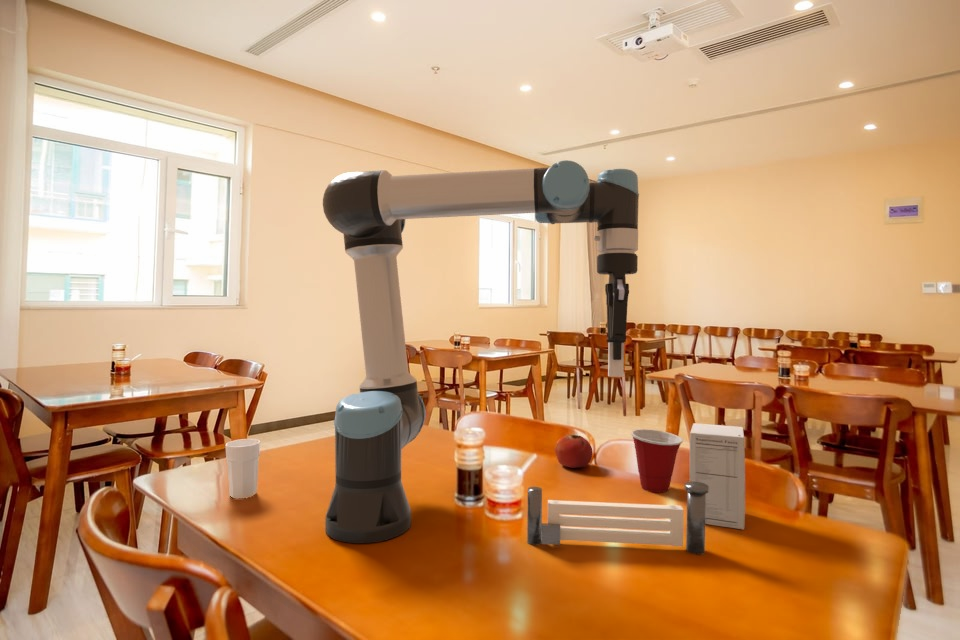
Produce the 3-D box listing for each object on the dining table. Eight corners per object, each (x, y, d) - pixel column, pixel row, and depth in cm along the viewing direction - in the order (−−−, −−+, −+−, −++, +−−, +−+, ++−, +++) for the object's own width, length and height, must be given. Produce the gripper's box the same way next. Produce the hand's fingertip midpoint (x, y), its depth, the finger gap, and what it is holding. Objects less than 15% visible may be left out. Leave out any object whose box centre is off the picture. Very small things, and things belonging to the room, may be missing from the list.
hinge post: (687, 555, 86) (688, 488, 86) (681, 545, 90) (682, 481, 89) (710, 556, 86) (711, 489, 85) (703, 546, 89) (704, 481, 89)
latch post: (526, 549, 88) (527, 494, 88) (527, 538, 92) (527, 486, 92) (560, 550, 87) (560, 496, 87) (559, 540, 91) (559, 487, 91)
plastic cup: (677, 500, 110) (678, 442, 110) (625, 491, 115) (625, 436, 115) (686, 485, 119) (686, 432, 119) (636, 477, 125) (637, 426, 124)
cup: (218, 498, 110) (218, 444, 110) (243, 487, 117) (243, 437, 116) (242, 502, 108) (242, 448, 108) (267, 492, 114) (267, 440, 114)
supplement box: (744, 513, 104) (745, 426, 103) (745, 531, 95) (747, 437, 95) (691, 505, 108) (692, 421, 107) (687, 521, 99) (689, 431, 99)
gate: (547, 539, 89) (547, 503, 89) (547, 534, 91) (547, 499, 91) (683, 546, 87) (683, 509, 87) (680, 541, 89) (680, 505, 89)
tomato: (554, 460, 138) (555, 429, 138) (591, 462, 137) (591, 431, 137) (554, 471, 129) (555, 438, 129) (593, 473, 128) (594, 440, 128)
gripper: (593, 256, 109) (592, 371, 110) (601, 249, 96) (599, 380, 97) (631, 256, 108) (630, 372, 109) (643, 249, 95) (642, 381, 96)
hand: (615, 376), depth 103 cm, fingers closed
